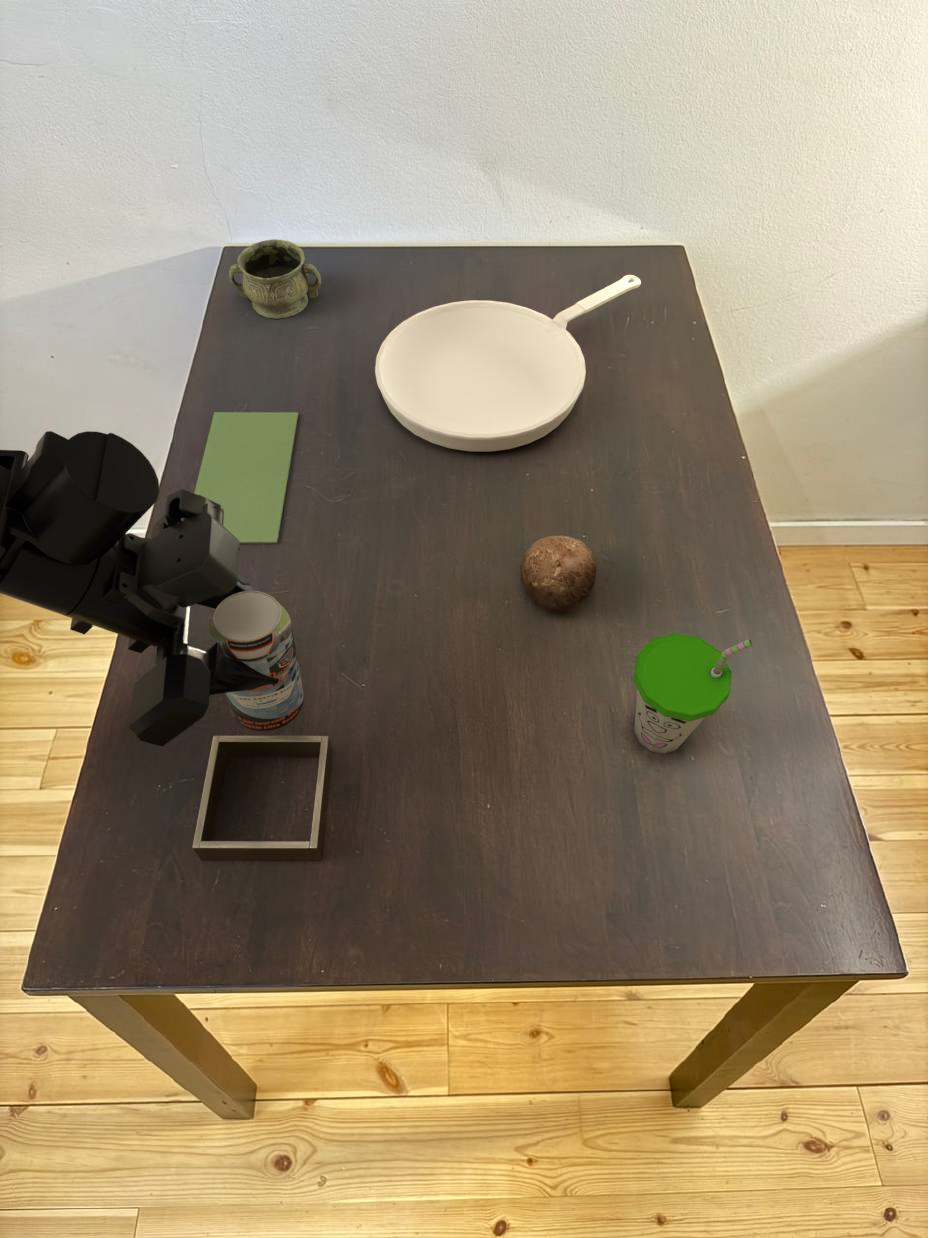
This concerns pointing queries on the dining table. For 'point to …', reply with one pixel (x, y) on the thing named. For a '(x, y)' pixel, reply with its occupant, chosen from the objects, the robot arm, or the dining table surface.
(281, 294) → the vessel
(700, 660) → the cup
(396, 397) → the pan
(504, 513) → the dining table surface
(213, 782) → the frame
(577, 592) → the mushroom
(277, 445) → the green mat
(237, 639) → the beverage can
